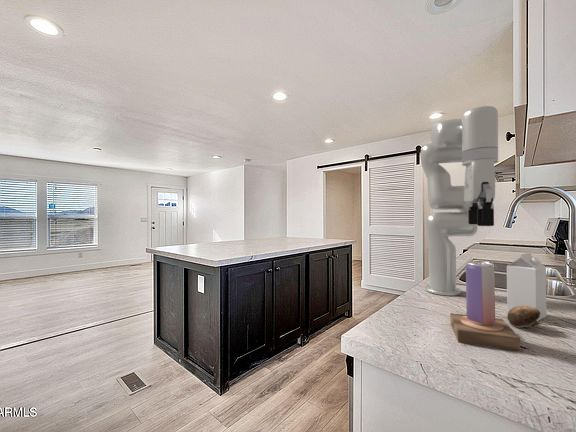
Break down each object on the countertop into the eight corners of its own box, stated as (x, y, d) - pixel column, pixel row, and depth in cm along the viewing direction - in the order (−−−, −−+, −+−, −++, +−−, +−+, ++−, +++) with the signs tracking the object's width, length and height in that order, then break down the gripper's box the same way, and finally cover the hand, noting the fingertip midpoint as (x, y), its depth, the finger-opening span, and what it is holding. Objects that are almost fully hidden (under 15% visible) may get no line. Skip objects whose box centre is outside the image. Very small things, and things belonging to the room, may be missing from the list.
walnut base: (450, 323, 77) (450, 311, 77) (502, 330, 72) (502, 317, 72) (458, 342, 66) (458, 327, 66) (520, 351, 61) (520, 335, 61)
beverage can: (468, 323, 68) (466, 264, 68) (465, 315, 73) (464, 260, 73) (497, 328, 65) (496, 266, 65) (492, 319, 70) (491, 262, 70)
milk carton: (506, 314, 83) (506, 252, 83) (517, 309, 87) (516, 250, 87) (536, 322, 77) (536, 255, 77) (546, 317, 81) (546, 253, 80)
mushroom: (554, 317, 72) (536, 297, 74) (545, 336, 68) (525, 314, 70) (524, 322, 79) (507, 303, 80) (514, 339, 75) (497, 319, 76)
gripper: (456, 164, 78) (457, 223, 78) (469, 152, 62) (470, 226, 63) (487, 162, 75) (488, 223, 75) (510, 149, 59) (510, 226, 60)
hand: (480, 225), depth 69 cm, fingers open, 9 cm apart
